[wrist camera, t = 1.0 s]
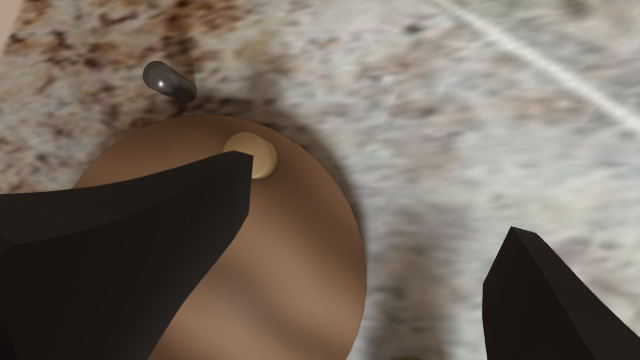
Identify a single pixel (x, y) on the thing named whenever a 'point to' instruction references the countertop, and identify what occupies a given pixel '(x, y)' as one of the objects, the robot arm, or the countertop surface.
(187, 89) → the dark gray cylinder
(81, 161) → the countertop surface
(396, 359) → the olive pawn piece
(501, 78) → the countertop surface
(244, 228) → the disc
